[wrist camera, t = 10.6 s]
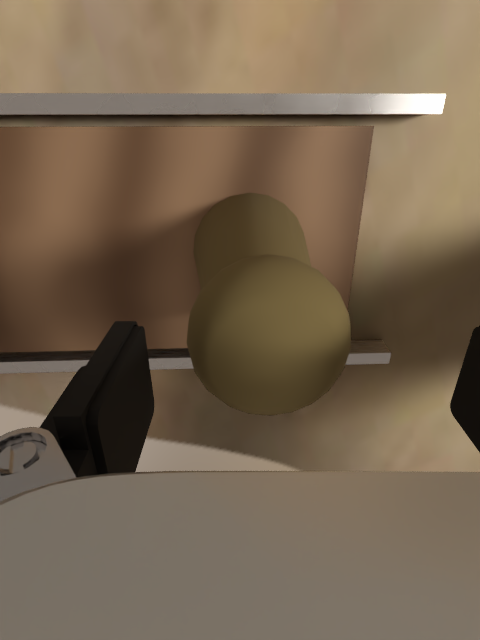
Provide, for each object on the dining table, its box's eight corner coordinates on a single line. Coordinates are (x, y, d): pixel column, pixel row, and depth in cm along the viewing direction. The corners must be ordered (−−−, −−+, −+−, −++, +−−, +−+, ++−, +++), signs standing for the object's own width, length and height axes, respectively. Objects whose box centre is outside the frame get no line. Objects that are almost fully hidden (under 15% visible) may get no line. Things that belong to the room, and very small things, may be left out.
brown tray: (365, 125, 19) (416, 126, 14) (337, 334, 25) (366, 388, 20) (-132, 126, 18) (-265, 128, 13) (-45, 343, 24) (-116, 402, 19)
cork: (175, 215, 20) (128, 308, 10) (288, 175, 19) (361, 230, 9) (216, 315, 22) (211, 465, 12) (316, 282, 22) (395, 415, 12)
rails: (429, 96, 19) (446, 93, 17) (379, 350, 25) (388, 363, 24) (-120, 95, 18) (-150, 93, 16) (-21, 359, 24) (-36, 374, 23)
